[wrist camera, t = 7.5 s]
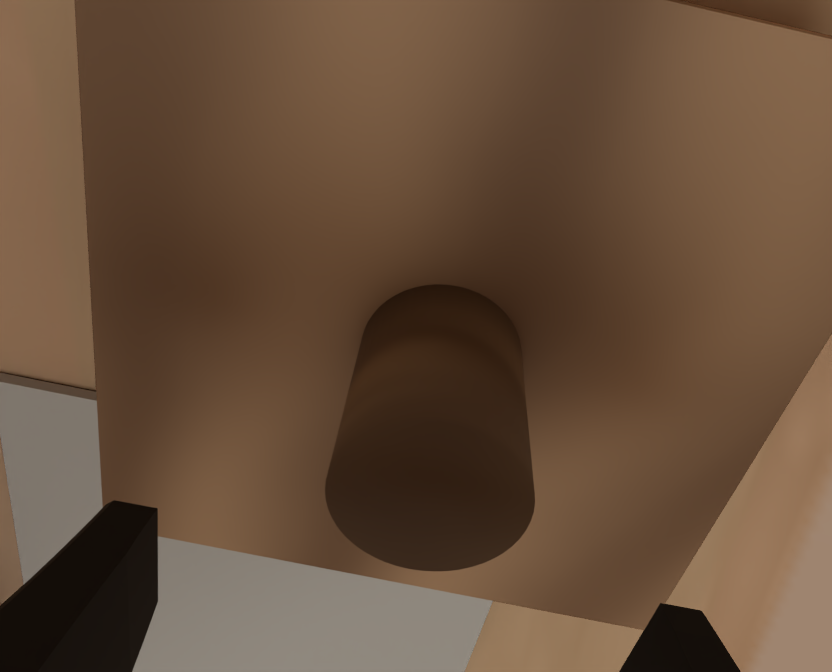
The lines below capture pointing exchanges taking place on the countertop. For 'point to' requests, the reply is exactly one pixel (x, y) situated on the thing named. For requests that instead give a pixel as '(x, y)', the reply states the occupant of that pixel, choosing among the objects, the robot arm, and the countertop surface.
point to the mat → (221, 570)
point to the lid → (452, 279)
